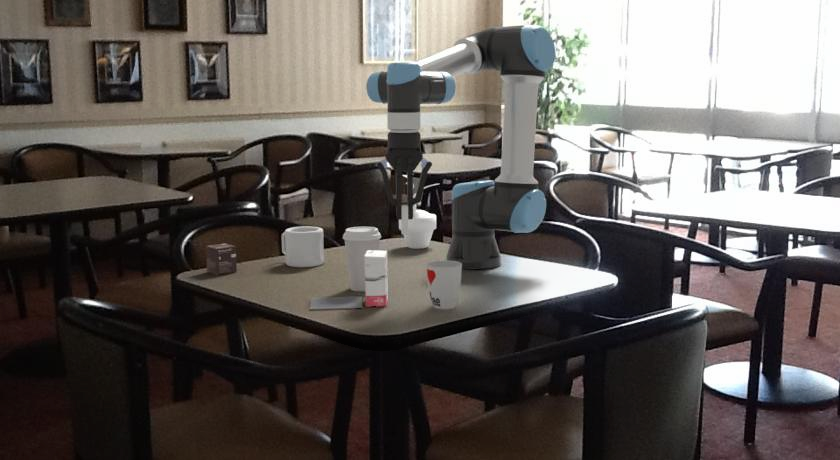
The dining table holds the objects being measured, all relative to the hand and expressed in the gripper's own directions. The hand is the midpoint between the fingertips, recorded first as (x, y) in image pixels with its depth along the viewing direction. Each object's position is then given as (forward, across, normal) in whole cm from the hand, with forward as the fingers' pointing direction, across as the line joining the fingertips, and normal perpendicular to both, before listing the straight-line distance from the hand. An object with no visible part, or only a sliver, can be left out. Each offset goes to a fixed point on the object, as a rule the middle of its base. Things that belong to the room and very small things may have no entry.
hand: (404, 233), depth 223 cm
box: (+17, +48, -40) cm, 65 cm away
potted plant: (+16, -8, -69) cm, 72 cm away
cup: (+17, -9, +6) cm, 19 cm away
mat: (+16, +16, 0) cm, 23 cm away
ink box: (+17, +7, 0) cm, 18 cm away
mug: (+16, +27, -49) cm, 58 cm away
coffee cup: (+17, +10, -15) cm, 25 cm away
